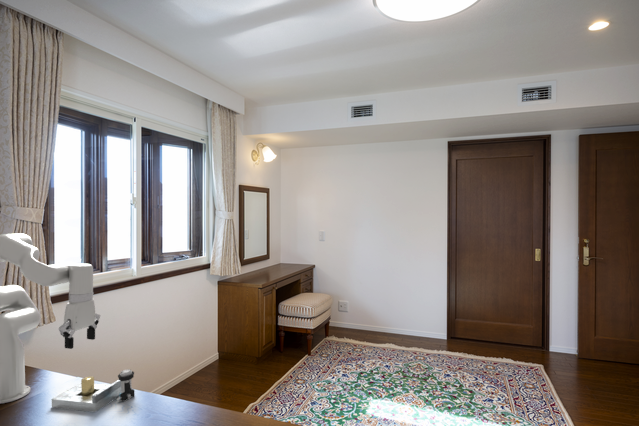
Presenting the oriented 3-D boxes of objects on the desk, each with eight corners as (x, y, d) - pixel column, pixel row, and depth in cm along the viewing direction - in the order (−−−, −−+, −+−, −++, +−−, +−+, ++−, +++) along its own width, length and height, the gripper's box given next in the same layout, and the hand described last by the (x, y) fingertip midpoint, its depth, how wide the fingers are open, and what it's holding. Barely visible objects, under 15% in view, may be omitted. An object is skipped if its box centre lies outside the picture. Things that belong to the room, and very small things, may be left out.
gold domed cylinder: (79, 402, 137) (78, 380, 137) (88, 397, 140) (87, 376, 140) (88, 403, 136) (88, 381, 136) (97, 398, 140) (96, 376, 140)
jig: (51, 407, 134) (51, 392, 134) (81, 390, 146) (81, 376, 146) (95, 412, 130) (95, 396, 130) (122, 393, 143) (122, 379, 143)
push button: (121, 405, 134) (121, 377, 134) (111, 402, 137) (111, 374, 136) (138, 396, 140) (137, 369, 140) (128, 393, 143) (127, 367, 142)
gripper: (91, 291, 149) (90, 335, 149) (51, 302, 132) (50, 350, 133) (107, 293, 148) (106, 336, 148) (69, 303, 131) (68, 353, 131)
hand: (80, 343), depth 140 cm, fingers open, 9 cm apart
